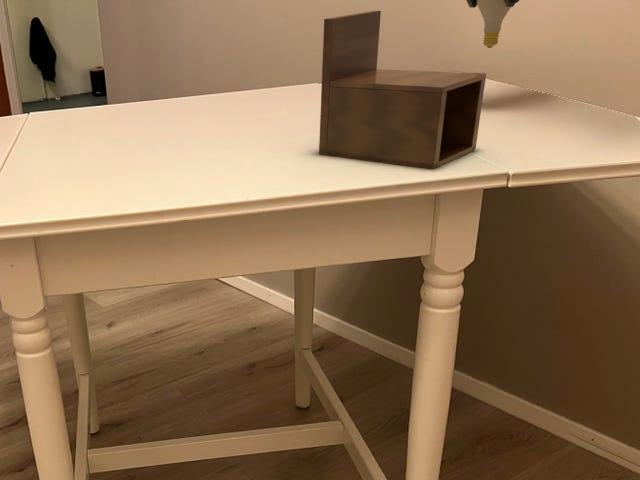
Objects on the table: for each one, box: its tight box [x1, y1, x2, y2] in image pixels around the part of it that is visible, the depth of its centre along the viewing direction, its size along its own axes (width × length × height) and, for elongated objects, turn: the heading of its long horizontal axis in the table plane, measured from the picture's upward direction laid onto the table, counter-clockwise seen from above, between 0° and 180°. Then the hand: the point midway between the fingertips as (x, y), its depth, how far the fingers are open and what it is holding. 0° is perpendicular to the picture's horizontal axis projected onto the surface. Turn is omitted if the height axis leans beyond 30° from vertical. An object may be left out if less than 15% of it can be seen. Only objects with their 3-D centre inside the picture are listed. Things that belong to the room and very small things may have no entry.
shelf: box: [318, 10, 487, 170], centre depth 87 cm, size 16×11×16 cm
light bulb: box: [477, 0, 512, 49], centre depth 105 cm, size 6×6×10 cm
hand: (488, 2), depth 103 cm, fingers closed on light bulb, 5 cm apart
